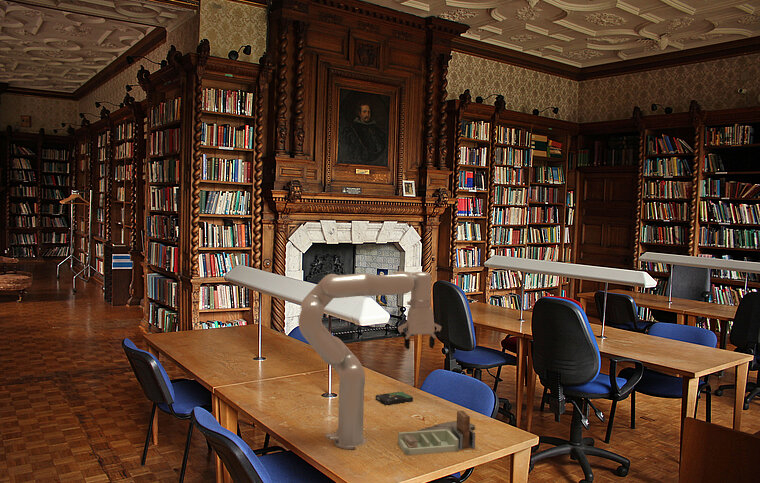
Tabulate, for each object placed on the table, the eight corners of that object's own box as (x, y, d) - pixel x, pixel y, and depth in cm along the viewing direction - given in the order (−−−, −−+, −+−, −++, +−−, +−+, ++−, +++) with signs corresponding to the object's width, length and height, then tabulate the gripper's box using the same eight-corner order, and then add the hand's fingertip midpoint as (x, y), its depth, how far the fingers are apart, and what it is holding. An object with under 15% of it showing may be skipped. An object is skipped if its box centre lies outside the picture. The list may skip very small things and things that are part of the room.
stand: (459, 452, 222) (460, 434, 222) (451, 443, 231) (451, 425, 230) (474, 451, 223) (475, 433, 223) (465, 442, 232) (466, 424, 232)
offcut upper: (410, 446, 219) (410, 441, 219) (404, 440, 224) (404, 435, 224) (417, 445, 220) (417, 440, 220) (411, 439, 225) (411, 434, 225)
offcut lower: (409, 452, 218) (409, 446, 218) (403, 445, 225) (404, 439, 225) (417, 451, 219) (417, 446, 219) (412, 444, 226) (412, 438, 226)
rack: (405, 458, 216) (406, 443, 216) (397, 446, 227) (398, 432, 226) (458, 454, 221) (458, 439, 221) (447, 442, 232) (448, 429, 231)
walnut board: (462, 448, 223) (463, 417, 223) (456, 441, 230) (457, 410, 230) (468, 448, 224) (469, 416, 223) (461, 441, 231) (462, 410, 230)
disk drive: (385, 407, 273) (413, 402, 280) (385, 401, 273) (413, 396, 280) (375, 400, 283) (402, 396, 290) (375, 394, 282) (402, 390, 289)
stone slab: (404, 430, 238) (461, 415, 255) (404, 438, 239) (461, 422, 255) (419, 439, 230) (478, 423, 246) (419, 447, 230) (478, 430, 246)
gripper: (401, 306, 225) (400, 351, 226) (445, 305, 229) (443, 349, 230) (396, 303, 232) (395, 346, 233) (438, 302, 236) (437, 345, 237)
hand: (419, 348), depth 231 cm, fingers open, 9 cm apart
